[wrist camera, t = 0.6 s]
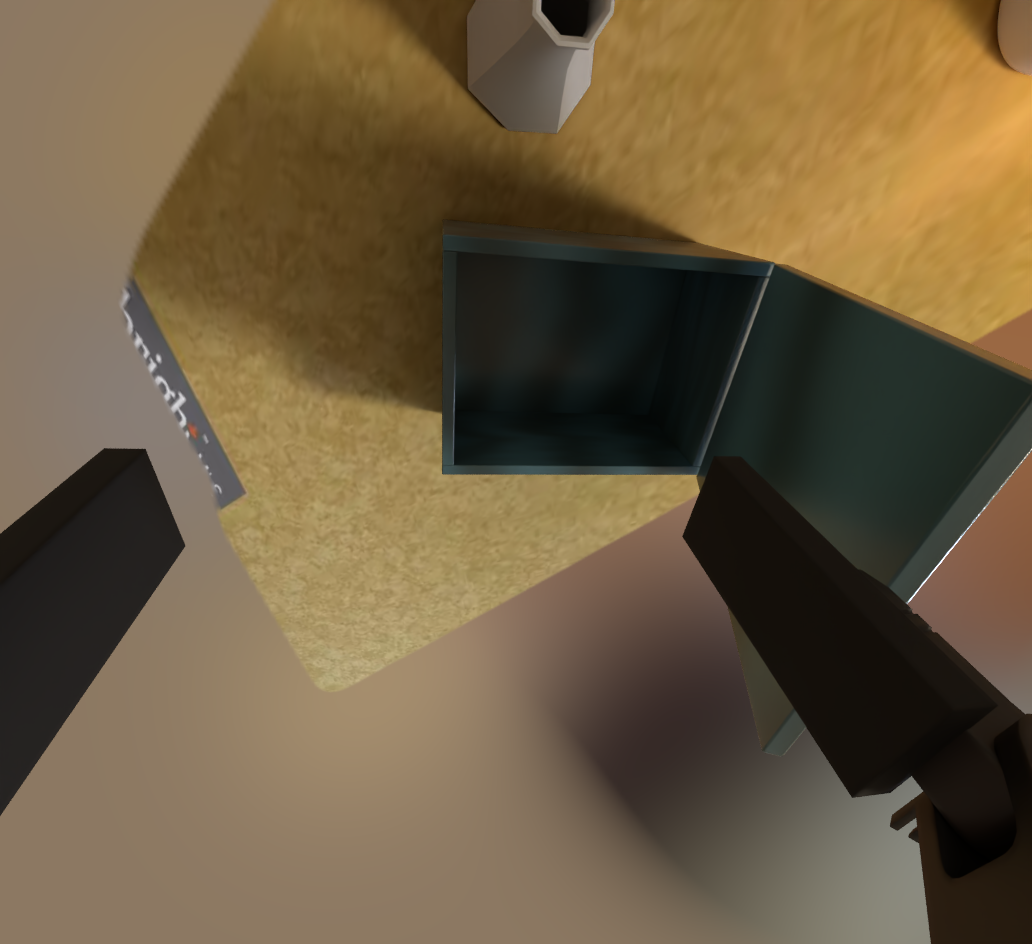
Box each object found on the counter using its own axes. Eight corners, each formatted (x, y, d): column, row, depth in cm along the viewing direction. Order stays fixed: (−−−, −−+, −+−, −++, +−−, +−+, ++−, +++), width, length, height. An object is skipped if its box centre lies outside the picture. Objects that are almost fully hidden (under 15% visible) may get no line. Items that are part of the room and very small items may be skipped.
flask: (618, 2, 24) (711, -91, 16) (563, 158, 27) (615, 149, 19) (489, -79, 22) (517, -238, 13) (447, 101, 25) (448, 63, 17)
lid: (761, 752, 15) (783, 757, 15) (1040, 384, 8) (1084, 391, 8) (696, 477, 31) (706, 479, 31) (774, 263, 23) (788, 265, 23)
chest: (442, 414, 35) (442, 474, 28) (442, 219, 28) (442, 234, 21) (650, 418, 38) (698, 475, 31) (698, 242, 31) (776, 262, 24)
